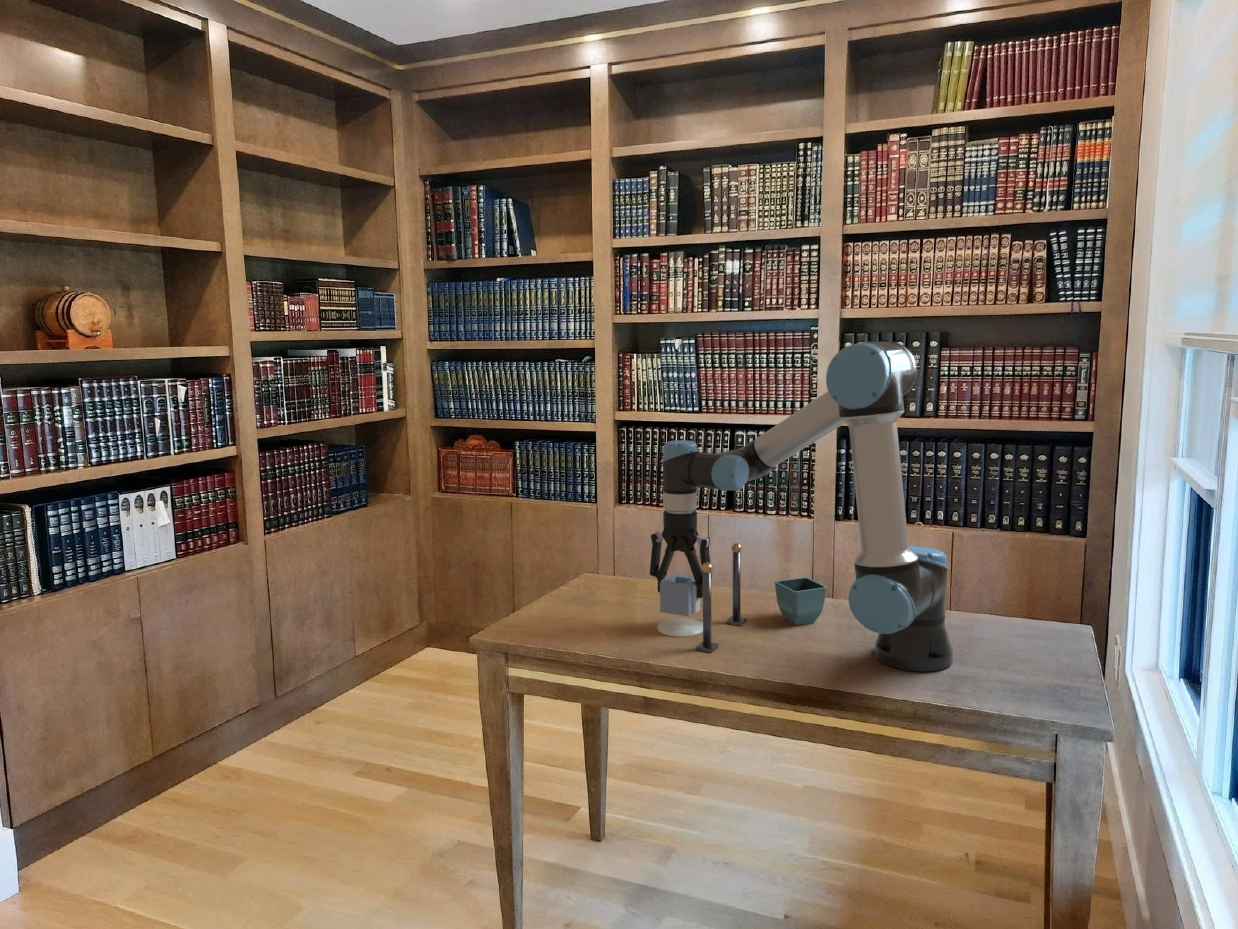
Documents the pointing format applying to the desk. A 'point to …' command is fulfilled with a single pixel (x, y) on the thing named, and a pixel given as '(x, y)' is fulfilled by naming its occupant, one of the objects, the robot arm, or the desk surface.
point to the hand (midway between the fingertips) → (680, 608)
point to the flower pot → (800, 599)
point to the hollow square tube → (677, 595)
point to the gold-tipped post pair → (733, 620)
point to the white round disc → (680, 627)
